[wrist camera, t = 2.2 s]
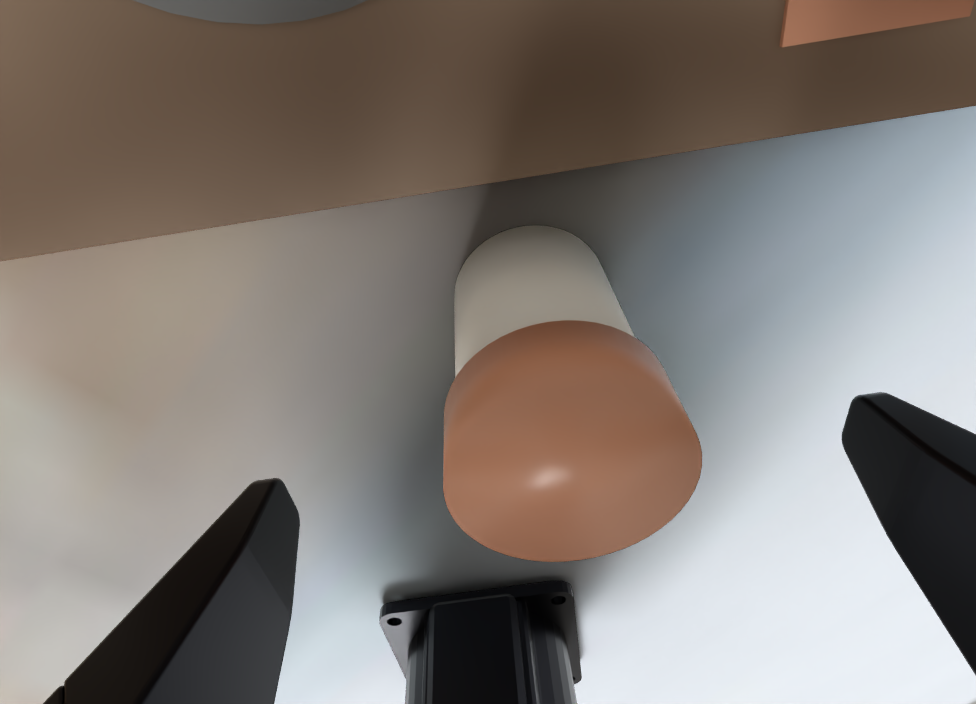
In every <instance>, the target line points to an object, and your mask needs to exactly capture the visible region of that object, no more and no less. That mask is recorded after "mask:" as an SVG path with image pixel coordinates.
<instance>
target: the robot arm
mask: <svg viewBox="0 0 976 704" xmlns="http://www.w3.org/2000/svg"><path fill="white" fill-rule="evenodd" d="M842 444H843V447H844V450H845V452H846V454H847V456H848V458H849V460H850V462H851V464H852V466H853V468H854V470H855V472H856V474H857V476H858V478H859V480H860V482H861V484H862V486H863V488H864V490H865V492H866V494H867V496H868V498H869V500H870V503H871V505H872V507H873V509H874V511H875V513H876V515H877V517H878V519H879V521H880V523H881V525H882V526H883V528H884V530H885V532H886V534H887V536H888V538H889V539H890V541H891V542H892V544H893V546H894V547H895V549H896V551H897V552H898V554H899V555H900V557H901V559H902V560H903V562H904V563H905V565H906V566H907V568H908V570H909V571H910V573H911V574H912V576H913V577H914V579H915V581H916V582H917V584H918V585H919V587H920V588H921V590H922V592H923V593H924V595H925V596H926V598H927V599H928V601H929V603H930V604H931V606H932V607H933V609H934V610H935V612H936V614H937V615H938V617H939V618H940V620H941V621H942V623H943V625H944V626H945V628H946V629H947V631H948V632H949V634H950V636H951V637H952V639H953V640H954V642H955V643H956V645H957V647H958V648H959V650H960V651H961V653H962V654H963V656H964V658H965V659H966V661H967V662H968V664H969V665H970V667H971V669H972V670H973V672H974V673H975V675H976V434H974V433H972V432H970V431H968V430H965V429H963V428H961V427H959V426H957V425H955V424H952V423H950V422H948V421H946V420H944V419H942V418H940V417H937V416H935V415H933V414H931V413H929V412H927V411H924V410H922V409H920V408H918V407H916V406H914V405H912V404H909V403H907V402H905V401H903V400H901V399H899V398H897V397H894V396H892V395H890V394H887V393H882V392H879V393H872V394H864V395H859V396H856V397H855V398H854V399H853V400H852V402H851V405H850V408H849V411H848V415H847V418H846V422H845V425H844V428H843V432H842ZM299 527H300V519H299V513H298V510H297V508H296V506H295V504H294V502H293V500H292V498H291V496H290V494H289V492H288V490H287V488H286V486H285V484H284V483H283V481H282V480H280V479H279V478H272V479H265V480H258V481H255V482H253V483H251V484H250V485H249V486H248V487H247V488H246V489H245V490H244V491H243V492H242V494H241V495H240V496H239V497H238V498H237V499H236V500H235V501H234V502H233V503H232V504H231V505H230V506H229V507H228V508H227V509H226V511H225V512H224V513H223V514H222V515H221V516H220V517H219V518H218V519H217V520H216V521H215V522H214V523H213V524H212V525H211V526H210V527H209V529H208V530H207V531H206V532H205V533H204V534H203V535H202V536H201V537H200V538H199V539H198V540H197V541H196V542H195V543H194V544H193V545H192V547H191V548H190V549H189V550H188V551H187V552H186V553H185V554H184V555H183V556H182V557H181V558H180V559H179V560H178V561H177V562H176V564H175V565H174V566H173V567H172V568H171V569H170V570H169V571H168V572H167V573H166V574H165V575H164V576H163V577H162V578H161V579H160V580H159V582H158V583H157V584H156V585H155V586H154V587H153V588H152V589H151V590H150V591H149V592H148V593H147V594H146V595H145V596H144V597H143V599H142V600H141V601H140V602H139V603H138V604H137V605H136V606H135V607H134V608H133V609H132V610H131V611H130V612H129V613H128V614H127V615H126V617H125V618H124V619H123V620H122V621H121V622H120V623H119V624H118V625H117V626H116V627H115V628H114V629H113V630H112V631H111V632H110V633H109V635H108V636H107V637H106V638H105V639H104V640H103V641H102V642H101V643H100V644H99V645H98V646H97V647H96V648H95V649H94V650H93V652H92V653H91V654H90V655H89V656H88V657H87V658H86V659H85V660H84V661H83V662H82V663H81V664H80V665H79V666H78V667H77V668H76V670H75V671H74V672H73V673H72V674H71V675H70V676H69V677H68V678H67V679H66V680H65V683H64V686H60V687H58V688H57V689H56V690H55V692H54V693H53V694H52V695H51V696H50V697H49V698H48V699H47V700H46V701H45V702H44V703H43V704H274V701H275V696H276V691H277V686H278V681H279V676H280V671H281V666H282V661H283V656H284V651H285V646H286V641H287V636H288V631H289V626H290V620H291V614H292V605H293V595H294V584H295V573H296V561H297V550H298V539H299ZM379 621H380V625H381V627H382V630H383V632H384V634H385V636H386V638H387V640H388V642H389V644H390V646H391V648H392V651H393V653H394V655H395V657H396V659H397V661H398V663H399V665H400V667H401V670H402V672H403V674H404V676H405V678H406V696H405V704H577V701H576V695H575V689H574V684H576V683H578V682H579V681H580V680H581V678H582V677H581V667H580V657H579V647H578V637H577V627H576V617H575V607H574V598H573V592H572V587H571V585H570V584H569V583H567V582H565V581H550V582H542V583H535V584H527V585H519V586H512V587H504V588H497V589H489V590H482V591H474V592H466V593H459V594H451V595H444V596H436V597H429V598H421V599H413V600H406V601H398V602H391V603H387V604H385V605H384V606H382V608H381V610H380V620H379Z"/></svg>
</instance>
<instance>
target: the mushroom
mask: <svg viewBox="0 0 976 704" xmlns="http://www.w3.org/2000/svg"><path fill="white" fill-rule="evenodd" d="M454 317H455V379H454V381H453V383H452V385H451V387H450V389H449V392H448V395H447V398H446V402H445V408H444V466H443V492H444V497H445V502H446V505H447V507H448V510H449V512H450V514H451V516H452V517H453V519H454V521H455V522H456V523H457V524H458V526H459V527H460V528H461V529H462V530H463V531H464V532H465V533H466V534H467V535H469V536H470V537H471V538H472V539H474V540H475V541H477V542H478V543H480V544H482V545H483V546H485V547H487V548H489V549H492V550H494V551H496V552H499V553H502V554H504V555H507V556H511V557H515V558H519V559H525V560H532V561H543V562H566V561H576V560H583V559H589V558H595V557H598V556H602V555H606V554H610V553H613V552H616V551H619V550H622V549H624V548H626V547H629V546H631V545H633V544H636V543H638V542H639V541H641V540H643V539H645V538H647V537H649V536H650V535H652V534H653V533H655V532H656V531H658V530H659V529H661V528H662V527H663V526H664V525H666V524H667V523H668V522H669V521H671V520H672V519H673V518H674V517H675V516H676V515H677V514H678V513H679V512H680V511H681V509H682V508H683V507H684V506H685V504H686V503H687V502H688V500H689V499H690V497H691V495H692V494H693V492H694V490H695V488H696V485H697V483H698V480H699V478H700V473H701V468H702V451H701V446H700V442H699V439H698V437H697V434H696V432H695V430H694V428H693V426H692V424H691V422H690V420H689V418H688V416H687V414H686V412H685V410H684V408H683V406H682V404H681V402H680V400H679V398H678V396H677V394H676V392H675V390H674V388H673V386H672V384H671V382H670V380H669V378H668V376H667V374H666V372H665V370H664V368H663V366H662V365H661V363H660V361H659V360H658V358H657V357H656V356H655V354H654V353H653V352H652V351H651V350H650V349H649V348H648V347H647V346H646V345H644V344H643V343H642V342H641V341H639V340H638V339H637V338H635V337H634V334H633V332H632V330H631V328H630V326H629V324H628V322H627V319H626V317H625V315H624V313H623V311H622V309H621V307H620V305H619V302H618V300H617V298H616V296H615V294H614V292H613V290H612V287H611V285H610V283H609V281H608V279H607V277H606V275H605V273H604V270H603V268H602V266H601V264H600V262H599V260H598V258H597V257H596V255H595V253H594V252H593V251H592V250H591V249H590V247H589V246H588V245H587V244H585V243H584V242H583V241H582V240H581V239H579V238H578V237H576V236H574V235H573V234H571V233H568V232H566V231H564V230H561V229H558V228H554V227H548V226H538V225H531V226H521V227H517V228H512V229H509V230H506V231H503V232H501V233H499V234H497V235H495V236H492V237H491V238H489V239H488V240H486V241H485V242H483V243H482V244H481V245H480V246H478V247H477V248H476V249H475V250H474V251H473V252H472V253H471V255H470V256H469V257H468V258H467V260H466V261H465V263H464V264H463V266H462V268H461V270H460V272H459V274H458V277H457V280H456V285H455V290H454Z"/></svg>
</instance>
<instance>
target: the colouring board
mask: <svg viewBox="0 0 976 704" xmlns="http://www.w3.org/2000/svg"><path fill="white" fill-rule="evenodd" d="M970 106H976V0H0V261H6V260H12V259H18V258H25V257H31V256H37V255H43V254H50V253H56V252H62V251H68V250H75V249H81V248H87V247H93V246H100V245H106V244H112V243H118V242H125V241H131V240H137V239H144V238H150V237H156V236H162V235H169V234H175V233H181V232H187V231H194V230H200V229H206V228H212V227H219V226H225V225H231V224H237V223H244V222H250V221H256V220H263V219H269V218H275V217H281V216H288V215H294V214H300V213H306V212H313V211H319V210H325V209H331V208H338V207H344V206H350V205H357V204H363V203H369V202H375V201H382V200H388V199H394V198H400V197H407V196H413V195H419V194H425V193H432V192H438V191H444V190H450V189H457V188H463V187H469V186H476V185H482V184H488V183H494V182H501V181H507V180H513V179H519V178H526V177H532V176H538V175H544V174H551V173H557V172H563V171H570V170H576V169H582V168H588V167H595V166H601V165H607V164H613V163H620V162H626V161H632V160H638V159H645V158H651V157H657V156H663V155H670V154H676V153H682V152H689V151H695V150H701V149H707V148H714V147H720V146H726V145H732V144H739V143H745V142H751V141H757V140H764V139H770V138H776V137H782V136H789V135H795V134H801V133H808V132H814V131H820V130H826V129H833V128H839V127H845V126H851V125H858V124H864V123H870V122H876V121H883V120H889V119H895V118H902V117H908V116H914V115H920V114H927V113H933V112H939V111H945V110H952V109H958V108H964V107H970Z"/></svg>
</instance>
